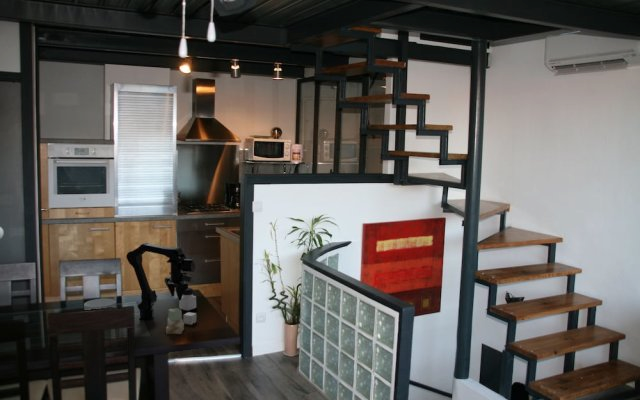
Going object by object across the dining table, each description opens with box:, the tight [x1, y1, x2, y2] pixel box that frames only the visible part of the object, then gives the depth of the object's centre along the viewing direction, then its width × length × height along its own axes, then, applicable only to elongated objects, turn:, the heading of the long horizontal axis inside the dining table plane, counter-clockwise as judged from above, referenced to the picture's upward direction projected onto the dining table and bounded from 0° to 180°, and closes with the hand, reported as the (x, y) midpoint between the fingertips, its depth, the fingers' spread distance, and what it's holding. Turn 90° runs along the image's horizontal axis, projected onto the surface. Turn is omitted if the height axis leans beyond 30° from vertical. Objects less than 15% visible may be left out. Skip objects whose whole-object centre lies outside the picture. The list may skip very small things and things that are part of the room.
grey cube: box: [182, 311, 197, 325], centre depth 322 cm, size 5×5×5 cm
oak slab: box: [165, 322, 185, 335], centre depth 308 cm, size 8×8×4 cm
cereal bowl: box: [83, 298, 117, 311], centre depth 333 cm, size 17×17×7 cm
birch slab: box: [167, 317, 184, 329], centre depth 308 cm, size 7×7×4 cm
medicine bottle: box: [178, 287, 197, 312], centre depth 346 cm, size 7×7×12 cm
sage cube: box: [168, 307, 183, 321], centre depth 307 cm, size 5×5×5 cm
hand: (176, 298), depth 323 cm, fingers open, 9 cm apart
